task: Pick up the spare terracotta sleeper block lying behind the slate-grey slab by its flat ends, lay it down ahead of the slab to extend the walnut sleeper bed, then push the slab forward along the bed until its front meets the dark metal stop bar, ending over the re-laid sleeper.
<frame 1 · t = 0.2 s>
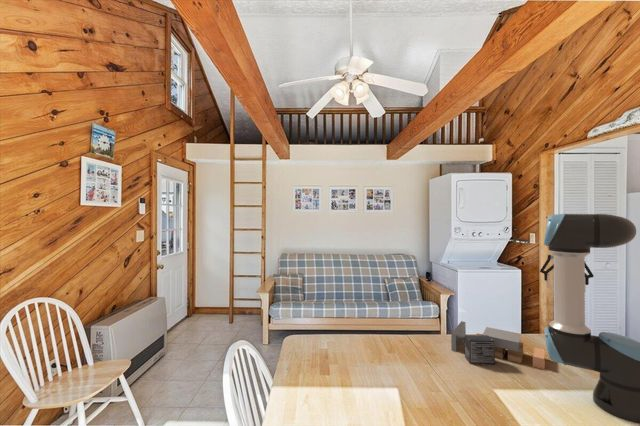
hand: (565, 289, 148), 28 cm above the table, fingers open, 13 cm apart
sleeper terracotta: (538, 363, 132), on the table
stop bar: (458, 343, 152), on the table
sleeper bed: (497, 352, 141), on the table
small box: (479, 361, 134), on the table
slab: (501, 342, 141), point 5 cm above the table, touching sleeper bed
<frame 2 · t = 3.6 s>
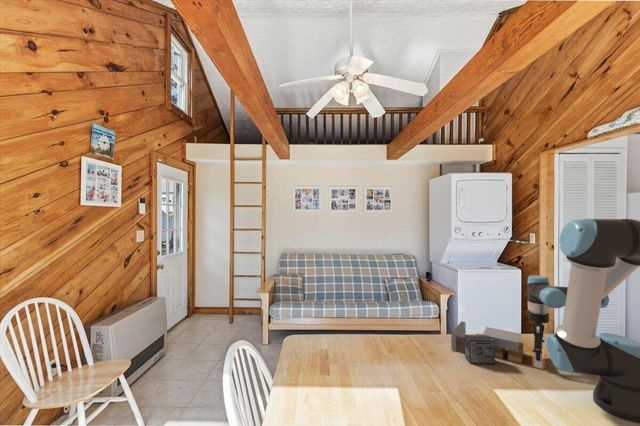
hand: (538, 362, 132), 0 cm above the table, fingers open, 11 cm apart
nothing on the table moved.
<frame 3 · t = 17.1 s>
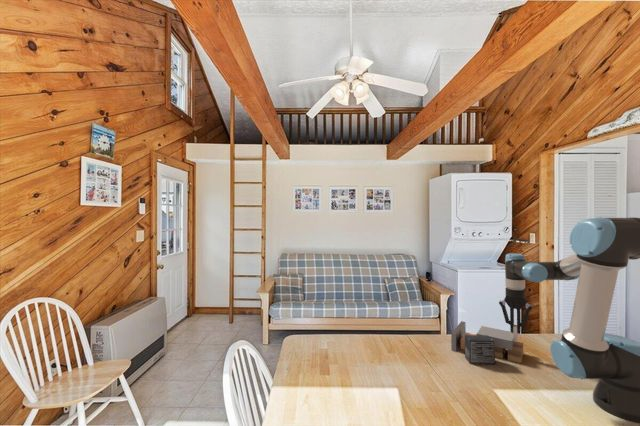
hand: (515, 340, 137), 8 cm above the table, fingers closed
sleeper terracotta: (467, 346, 149), on the table
slab: (496, 341, 142), point 5 cm above the table, touching gripper, sleeper bed
everything else where it was.
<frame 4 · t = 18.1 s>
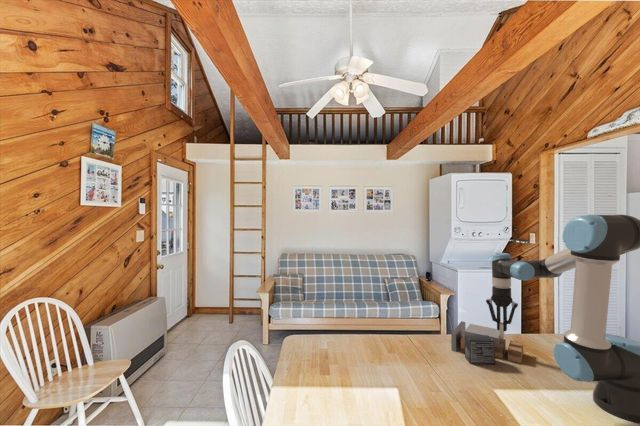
hand: (502, 337, 141), 8 cm above the table, fingers closed
slab: (483, 338, 145), point 5 cm above the table, touching gripper
everything else where it was.
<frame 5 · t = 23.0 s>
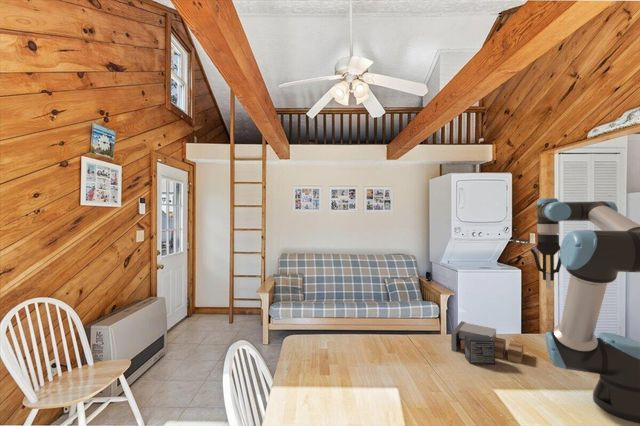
hand: (548, 287, 132), 32 cm above the table, fingers closed
slab: (477, 337, 147), point 5 cm above the table, touching sleeper bed
everything else where it was.
at the end: slab inside the target area (0.4 cm from its centre), point 5.0 cm above the table; slab tilted 0°; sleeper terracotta inside the target area under the slab (0.4 cm from its centre), point -5.3 cm above the slab's base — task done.
